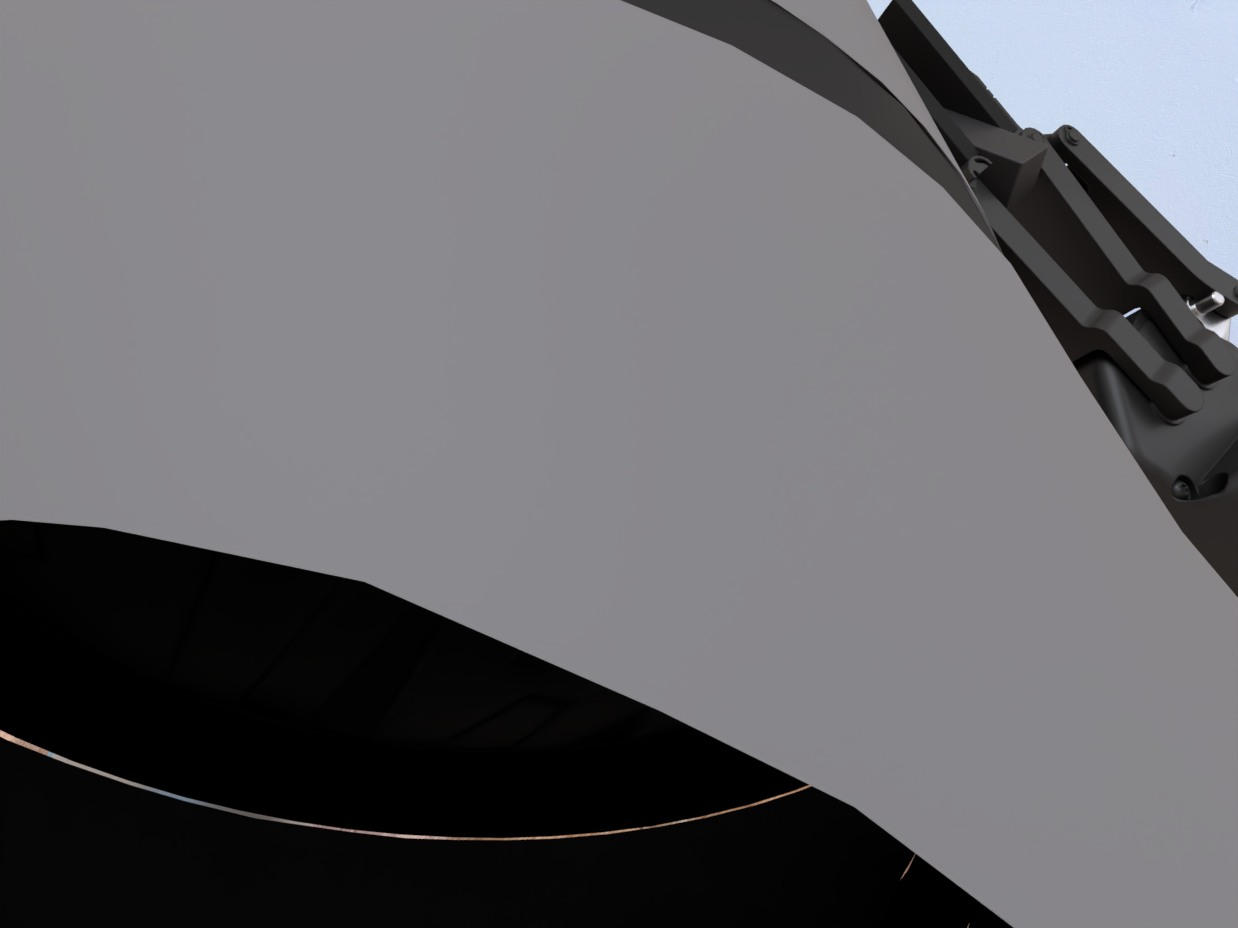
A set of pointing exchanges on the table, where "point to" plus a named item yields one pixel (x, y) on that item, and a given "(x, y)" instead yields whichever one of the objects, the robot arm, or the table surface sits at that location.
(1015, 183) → the stepped dark block
